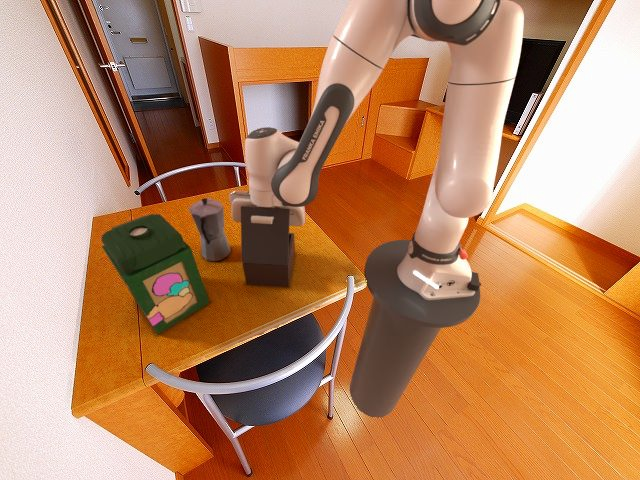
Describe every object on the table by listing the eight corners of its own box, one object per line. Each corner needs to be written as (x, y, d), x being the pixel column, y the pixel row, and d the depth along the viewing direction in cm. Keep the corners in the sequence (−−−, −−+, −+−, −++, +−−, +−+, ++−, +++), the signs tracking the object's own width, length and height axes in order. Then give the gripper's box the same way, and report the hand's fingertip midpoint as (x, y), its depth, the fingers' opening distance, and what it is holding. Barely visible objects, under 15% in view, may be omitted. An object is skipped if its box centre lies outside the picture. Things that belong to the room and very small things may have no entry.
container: (185, 271, 84) (157, 201, 68) (216, 305, 75) (193, 233, 59) (133, 298, 75) (88, 225, 59) (161, 340, 66) (117, 268, 50)
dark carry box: (257, 251, 92) (254, 230, 86) (294, 253, 92) (294, 233, 86) (246, 284, 81) (242, 263, 75) (288, 287, 81) (287, 266, 75)
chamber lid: (241, 205, 71) (235, 208, 66) (289, 208, 71) (287, 212, 66) (242, 261, 75) (236, 268, 70) (288, 264, 75) (285, 271, 70)
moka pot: (232, 237, 97) (221, 186, 84) (232, 267, 86) (220, 215, 73) (203, 240, 95) (188, 189, 82) (200, 272, 84) (181, 219, 71)
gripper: (223, 196, 70) (232, 238, 78) (304, 201, 69) (303, 243, 78) (231, 184, 74) (238, 225, 83) (306, 189, 74) (305, 229, 83)
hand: (270, 233), depth 81 cm, fingers closed on coffee capsule, 4 cm apart
